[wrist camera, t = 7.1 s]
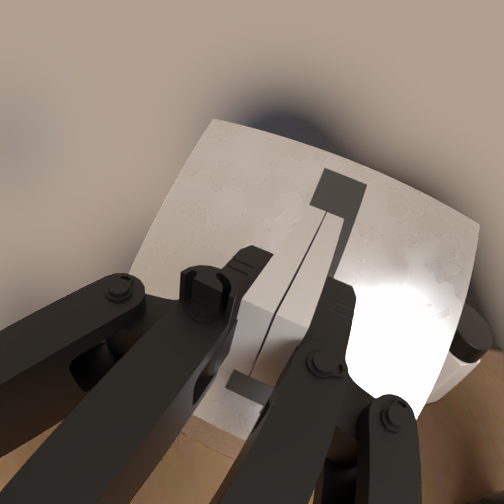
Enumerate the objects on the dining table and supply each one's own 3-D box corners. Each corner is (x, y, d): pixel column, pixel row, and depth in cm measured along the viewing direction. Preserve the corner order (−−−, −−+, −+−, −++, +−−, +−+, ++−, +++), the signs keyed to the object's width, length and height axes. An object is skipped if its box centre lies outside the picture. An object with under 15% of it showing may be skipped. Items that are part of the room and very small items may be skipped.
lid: (369, 470, 12) (380, 494, 9) (111, 348, 16) (83, 351, 14) (468, 231, 14) (492, 217, 12) (218, 130, 19) (207, 104, 16)
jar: (428, 357, 35) (474, 302, 28) (445, 400, 28) (502, 346, 21) (386, 360, 33) (435, 298, 27) (403, 409, 27) (466, 352, 20)
